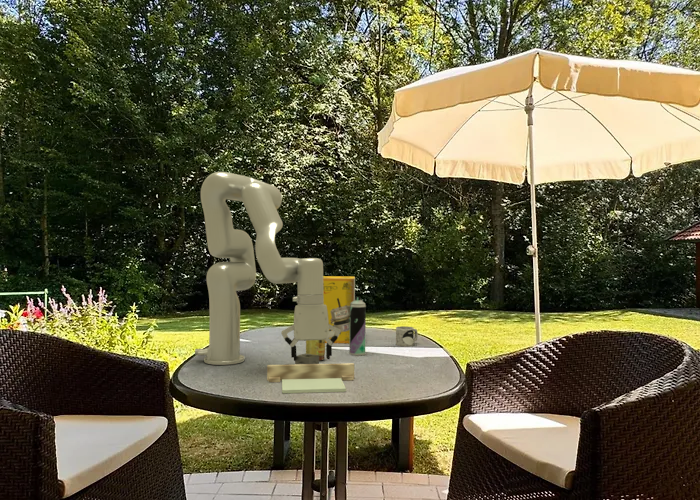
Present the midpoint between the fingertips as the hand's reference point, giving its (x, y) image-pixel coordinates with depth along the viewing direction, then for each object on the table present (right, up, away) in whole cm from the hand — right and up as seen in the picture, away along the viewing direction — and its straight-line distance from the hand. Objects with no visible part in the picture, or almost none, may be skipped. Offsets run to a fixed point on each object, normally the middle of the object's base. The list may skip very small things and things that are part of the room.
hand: (311, 359), depth 156 cm
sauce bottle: (0, -4, +19) cm, 19 cm away
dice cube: (-1, -4, 0) cm, 4 cm away
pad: (+1, -4, -16) cm, 17 cm away
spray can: (+14, -4, +29) cm, 32 cm away
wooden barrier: (0, -4, -8) cm, 9 cm away
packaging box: (+5, -4, +58) cm, 58 cm away
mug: (+33, -5, +48) cm, 59 cm away
